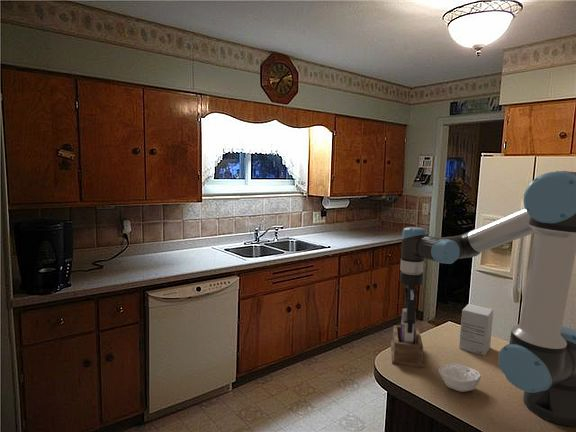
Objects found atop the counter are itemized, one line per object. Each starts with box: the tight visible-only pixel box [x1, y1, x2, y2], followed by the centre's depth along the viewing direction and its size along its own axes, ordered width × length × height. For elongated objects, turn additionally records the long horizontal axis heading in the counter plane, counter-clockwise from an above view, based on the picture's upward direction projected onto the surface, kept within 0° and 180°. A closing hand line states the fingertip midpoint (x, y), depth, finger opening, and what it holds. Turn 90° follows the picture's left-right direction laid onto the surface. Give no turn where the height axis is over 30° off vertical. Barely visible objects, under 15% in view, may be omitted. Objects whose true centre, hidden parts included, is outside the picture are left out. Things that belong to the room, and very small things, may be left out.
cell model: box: [438, 363, 482, 393], centre depth 113 cm, size 10×12×7 cm
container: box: [400, 308, 417, 344], centre depth 133 cm, size 5×5×15 cm
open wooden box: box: [390, 324, 425, 369], centre depth 133 cm, size 16×10×7 cm, turn 166°
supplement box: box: [458, 303, 494, 357], centre depth 139 cm, size 9×9×15 cm
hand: (408, 335), depth 132 cm, fingers open, 8 cm apart
